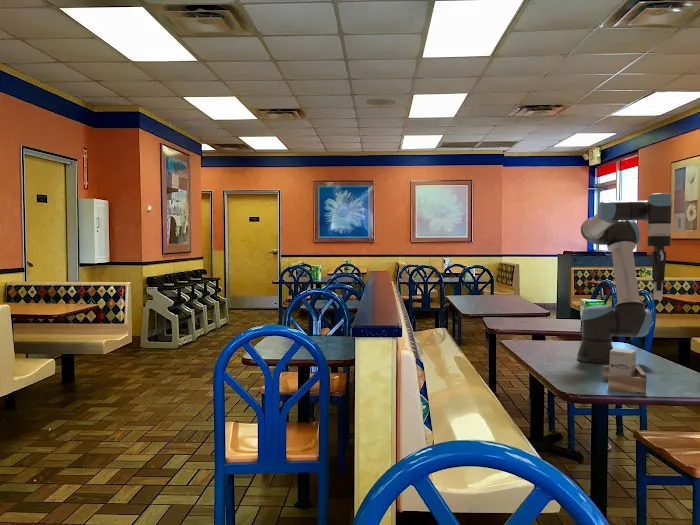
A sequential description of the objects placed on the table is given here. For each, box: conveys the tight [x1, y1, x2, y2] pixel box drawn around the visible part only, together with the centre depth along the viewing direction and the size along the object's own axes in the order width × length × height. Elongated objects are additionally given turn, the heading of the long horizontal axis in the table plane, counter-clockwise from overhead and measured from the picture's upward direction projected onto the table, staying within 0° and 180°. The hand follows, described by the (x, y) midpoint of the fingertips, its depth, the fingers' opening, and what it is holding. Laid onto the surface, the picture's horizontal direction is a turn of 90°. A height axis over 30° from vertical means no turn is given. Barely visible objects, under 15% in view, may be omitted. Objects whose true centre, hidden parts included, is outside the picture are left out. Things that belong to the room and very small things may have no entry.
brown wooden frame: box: [602, 363, 647, 394], centre depth 203 cm, size 17×12×6 cm
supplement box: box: [608, 347, 638, 377], centre depth 204 cm, size 7×7×13 cm
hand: (657, 299), depth 213 cm, fingers closed
